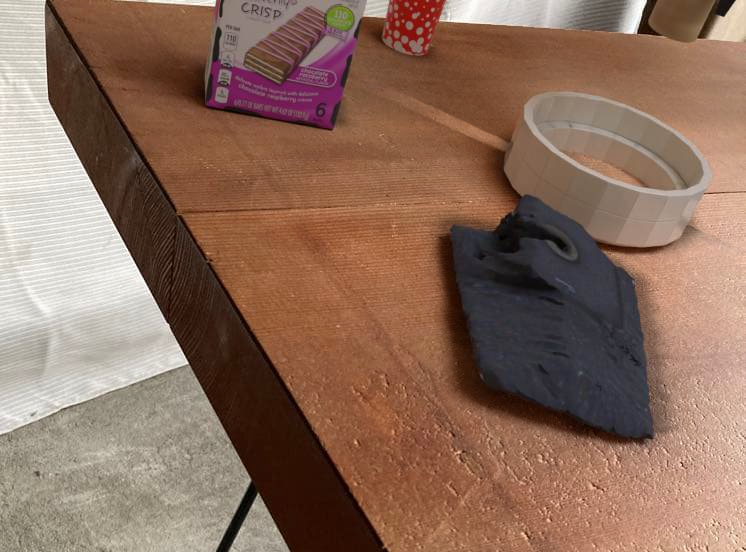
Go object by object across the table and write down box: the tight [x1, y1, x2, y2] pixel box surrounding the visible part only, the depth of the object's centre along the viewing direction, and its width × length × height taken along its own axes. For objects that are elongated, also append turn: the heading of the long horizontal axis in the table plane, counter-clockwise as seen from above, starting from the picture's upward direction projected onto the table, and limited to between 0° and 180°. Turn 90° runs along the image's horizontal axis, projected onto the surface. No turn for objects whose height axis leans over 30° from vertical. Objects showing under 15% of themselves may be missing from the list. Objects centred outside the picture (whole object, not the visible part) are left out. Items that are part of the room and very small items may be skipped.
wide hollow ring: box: [503, 90, 713, 248], centre depth 84 cm, size 17×17×6 cm
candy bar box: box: [204, 0, 368, 130], centre depth 77 cm, size 11×5×16 cm, turn 97°
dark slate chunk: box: [449, 194, 655, 440], centre depth 68 cm, size 15×22×5 cm
